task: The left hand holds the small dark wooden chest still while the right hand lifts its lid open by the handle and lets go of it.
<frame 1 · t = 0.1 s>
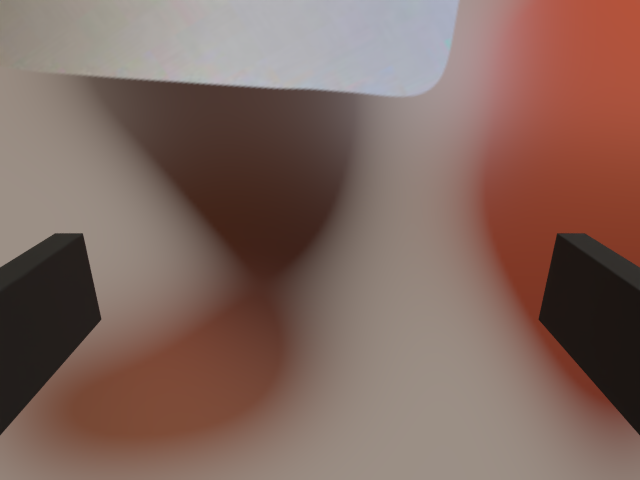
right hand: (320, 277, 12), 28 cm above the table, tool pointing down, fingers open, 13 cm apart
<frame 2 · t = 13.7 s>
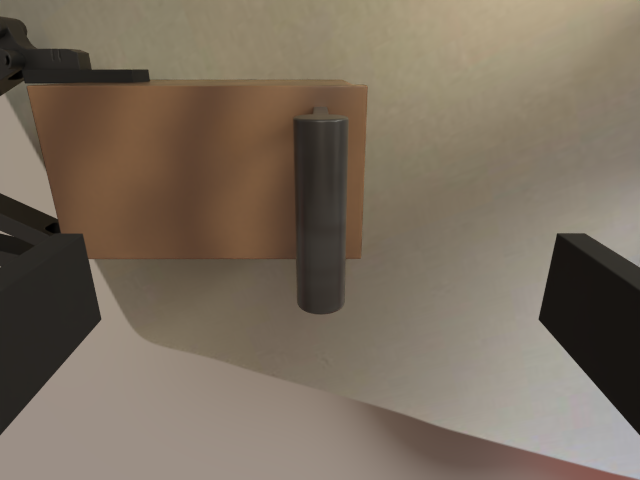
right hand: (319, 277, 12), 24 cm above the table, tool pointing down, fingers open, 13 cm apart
chest: (240, 142, 35), on the table, touching left hand
lid: (189, 194, 20), point 16 cm above the table, hinge at 0.0°
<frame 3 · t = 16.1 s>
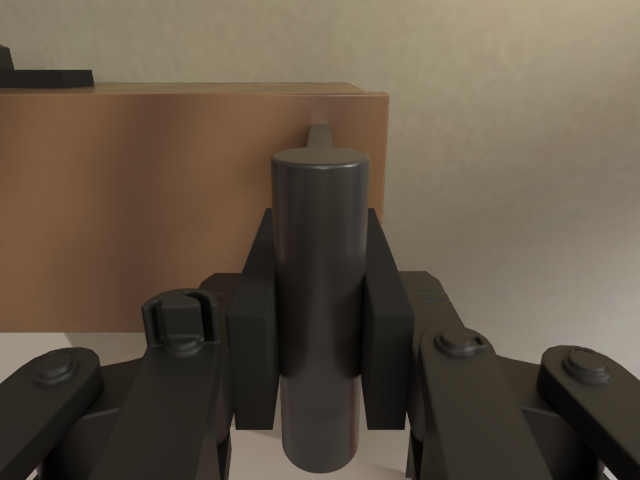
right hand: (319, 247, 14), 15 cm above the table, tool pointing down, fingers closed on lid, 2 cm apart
chest: (219, 160, 28), on the table, touching left hand
lid: (121, 260, 13), point 16 cm above the table, hinge at 0.1°, touching right hand
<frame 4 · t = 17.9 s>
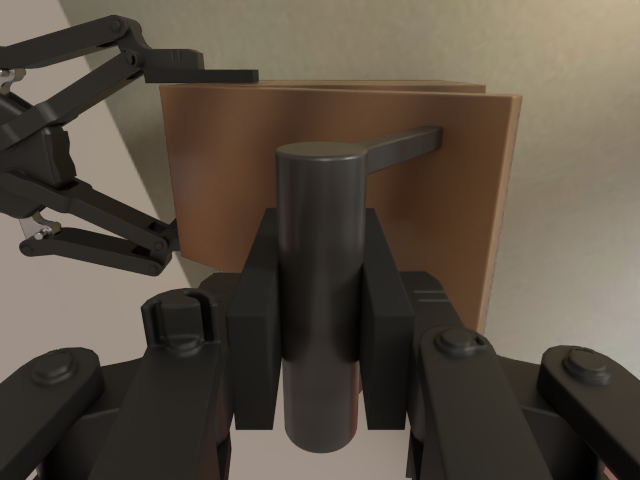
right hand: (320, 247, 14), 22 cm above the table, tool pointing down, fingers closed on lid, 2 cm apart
left hand: (259, 156, 29), fingers closed on chest, 9 cm apart
chest: (330, 142, 35), on the table, touching left hand
lid: (241, 222, 17), point 20 cm above the table, hinge at 33.1°, touching right hand
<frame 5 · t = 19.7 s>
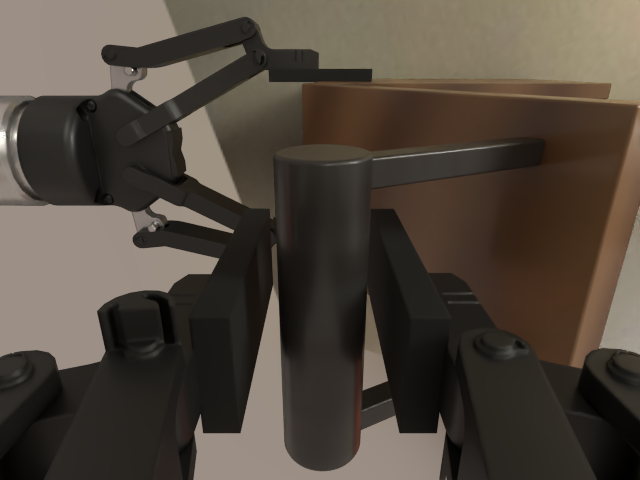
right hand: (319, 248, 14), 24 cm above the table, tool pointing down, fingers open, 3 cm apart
left hand: (366, 151, 30), fingers closed on chest, 9 cm apart
chest: (418, 139, 36), on the table, touching left hand
lid: (325, 220, 17), point 21 cm above the table, hinge at 59.9°
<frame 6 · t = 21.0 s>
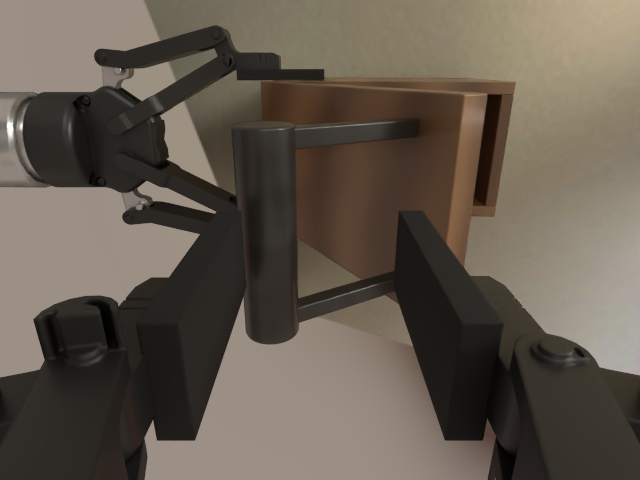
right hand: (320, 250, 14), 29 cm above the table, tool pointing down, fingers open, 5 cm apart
left hand: (323, 140, 35), fingers closed on chest, 9 cm apart
chest: (374, 130, 41), on the table, touching left hand
lid: (277, 186, 22), point 21 cm above the table, hinge at 56.6°
when the left hand's fingers open (6 cm above the table, at t = 23.7 s): chest stays where it is, on the table.
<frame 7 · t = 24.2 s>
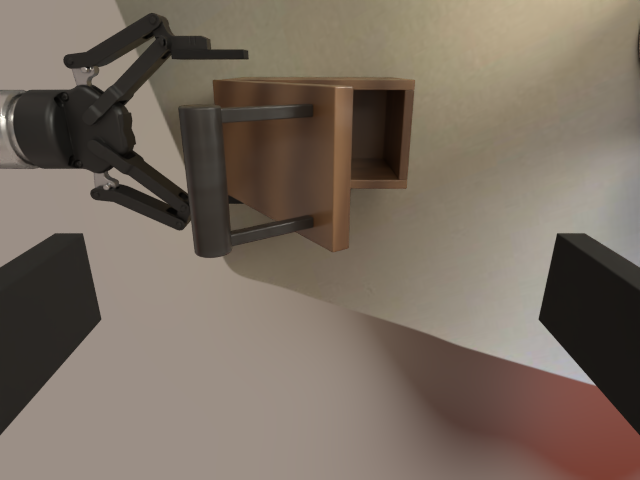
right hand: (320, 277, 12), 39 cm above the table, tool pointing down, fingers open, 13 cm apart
left hand: (251, 129, 43), fingers open, 13 cm apart
chest: (318, 122, 48), on the table
lid: (221, 157, 29), point 21 cm above the table, hinge at 55.6°
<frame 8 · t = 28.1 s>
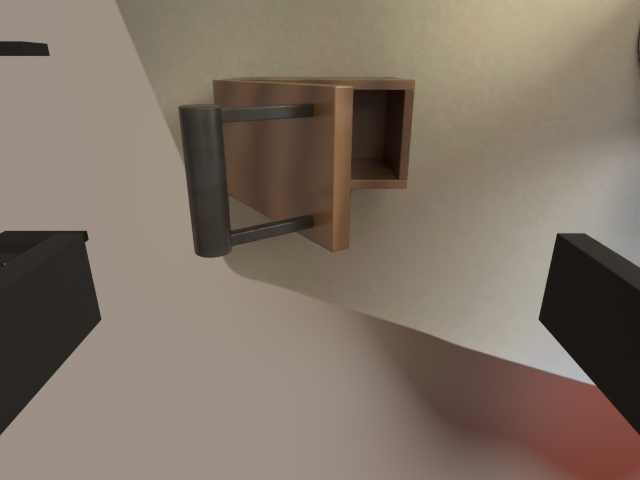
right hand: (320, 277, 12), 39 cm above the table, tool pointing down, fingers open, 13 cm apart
chest: (318, 122, 48), on the table
lid: (221, 157, 29), point 21 cm above the table, hinge at 55.5°
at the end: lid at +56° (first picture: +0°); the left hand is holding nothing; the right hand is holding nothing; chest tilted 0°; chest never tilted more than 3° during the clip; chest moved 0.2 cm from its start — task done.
